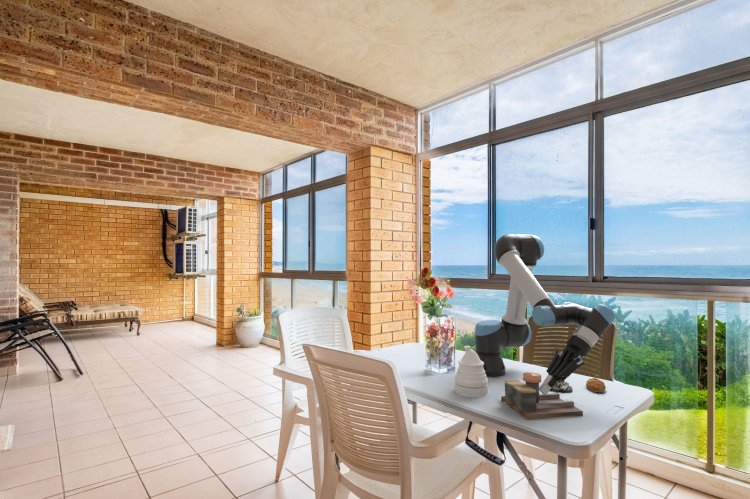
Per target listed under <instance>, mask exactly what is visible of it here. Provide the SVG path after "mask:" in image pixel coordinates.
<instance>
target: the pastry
mask: <svg viewBox="0 0 750 499" xmlns="http://www.w3.org/2000/svg"><path fill="white" fill-rule="evenodd" d="M585 387H586V388H587V389H588V390H589V391H590V392H593V393H602V394H603V393H604V392H605V391H606V389H607V387H606V384H605V382H604V381H603V380H600V379H599V378H596V377H593V378H589V379H587V380H586V383H585Z"/></svg>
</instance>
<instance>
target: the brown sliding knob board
mask: <svg viewBox="0 0 750 499" xmlns="http://www.w3.org/2000/svg"><path fill="white" fill-rule="evenodd" d="M560 394H561V393H558V392H551V393H550V392H548V393H547V394H546V395H544V394H543V393H539V401H540V402H541V403H536V390H534V389H532V388H531V387H529V386H527V385H526V383H524V382H522V381H521V380H518V379H512V380H504V395H502V396H500V397H501V398H500V401H502V402H503V403H505V405H507V406H508V407H510V408H511V409H512V410H514V411H515V412H517V413H518V414H519V415H521V416H522V417H523V418H525V419H526V420H528V421H529V420H539V419H551V418H552V419H554V418H563V417H564V418H567V417H581V416H584V411H583V410H582V409H580V408H578V407H576V406H575V401H573V400H565V399H561V398H560V397H561V396H560Z"/></svg>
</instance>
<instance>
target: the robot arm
mask: <svg viewBox="0 0 750 499" xmlns="http://www.w3.org/2000/svg"><path fill="white" fill-rule="evenodd" d="M493 251H494V252H493V253H494V256H495V257H494V258H495V259H496V261H497V263H498V264H499V266H500V267H502V268H504V269H505V270H506V272H507V273H508V275H509V276H510V282H509V290H508V296H507V304H506V309H505V310H506V311H505V314H504V315H502V317H501V321H500V320H497V319H486V320H481V321H478V322H477V323H476V324H475V328H474V338H475V340H474V341H475V342H474V343H475V345H474V346H475V348H474V349H475V350H474V351H475V352H476V353H477V355H478V356H479V358H480V360H481V361H483V362H484V365H483V368H484V370H485V374H486V377H500V376H504V375H506V365H505V362H504V360H503V356H502V349H508V348H520V347H524V346H526V345H528V343H529V342H530V341H531V339H532V330H531V326H530V324H529V323H528V320H527V319H526V314H527V313H526V311H527V305H528V304H529V305H530V307H531V308H532V310H531V317H532V321H533V322H534V323H535V325H537V326H538V327H539V326H541V327H552V326H565V325H576V326H577V328H576V329H575V330H574V332H573V333H572V335H571V336H570V337H569V338H568V339H567V340H566V343H565V344H566V347H564V348H563V349H562V350H561V351H559V350H557V349H556V351H555V354H554V356H553V358H552V360H551V362H550V363H549V365H548V367H547V369H546V373H547V374H548V375H547V376H546V378H545V379H544V380H543V382H541V385H539V392H540V393H541V394H544V395H546V394H547V393H550V392H549V390H550V389H551V388H552V387H553V386H554V385H555V384H556V382H557V381H560V380H561V381H566V379H567V378H569V377H570V376H571V375H572V374H573V373H574V372H575V371H577V369H579V367H581V366H583V365H584V364H585V362H584V361H583V360H582V358H583V357H586V356H587V355H588V354H589V353H590V352H591V350H592V348H594V346H595V344H596V343H597V342H598V341H599V340H600V338H601V336H602V335H604V333H605V332H606V331H607V329H609V327H610V326H611V325H612V323H613V321H615V319H616V314H615V312H614V311H613V310H612V308H610V307H609V306H606V305H605V304H601V303H598V304H596V305H594V306H593V307H587V306H585V305H584V306H583V305H582V304H581V305H580V304H577V303H575V302H570V301H565V302H563V303H561V304H555V303H554V301H552V300H551V298H550V297H549V295H548V294H547V293H546V291H545V290H544V289H543V287H542V286H541V285H540V283H539V282H538V280H537V279H536V277H535V276H534V274H532V270H533V268H535V267H536V266H537V262H538V261H539V260H541V259H542V257H544V253H545V245H544V243H543V241H542V240H541V238H540V237H539V236H537V235H534V234H526V233H525V234H523V233H522V234H521V233H519V234H515V233H514V234H513V233H508V234H504V235H501V237H499V238H498V239H497V240H496V242H495V244H494V246H493Z"/></svg>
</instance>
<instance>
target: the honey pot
mask: <svg viewBox="0 0 750 499" xmlns="http://www.w3.org/2000/svg"><path fill="white" fill-rule="evenodd" d="M471 347H472V346H470V345H465V346H463V349H464V351H465V352H464V354H463V356H462V358H461V359H460V360H458V362H457V363H458V367H457V369H456V370H457V372H456V373H455V376H454V393H455V394H457V395H458V396H459V395H460V396H462V397H466V398H485V397H486V396H488V395H489V379H488V376H486V374H485V370H484V368H483V365H484V362H483V361H481V360H480V358H479V356H478V355H477V353H476V352H475V350H474V349H472V348H471Z"/></svg>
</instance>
